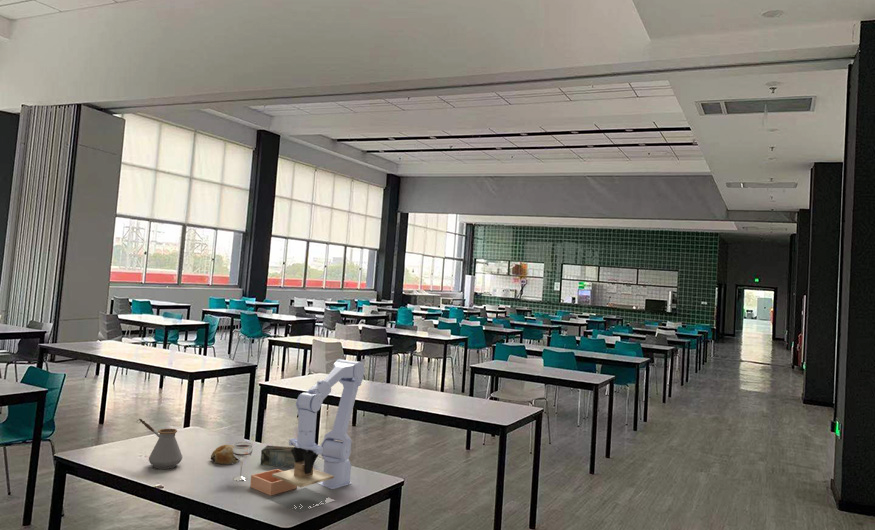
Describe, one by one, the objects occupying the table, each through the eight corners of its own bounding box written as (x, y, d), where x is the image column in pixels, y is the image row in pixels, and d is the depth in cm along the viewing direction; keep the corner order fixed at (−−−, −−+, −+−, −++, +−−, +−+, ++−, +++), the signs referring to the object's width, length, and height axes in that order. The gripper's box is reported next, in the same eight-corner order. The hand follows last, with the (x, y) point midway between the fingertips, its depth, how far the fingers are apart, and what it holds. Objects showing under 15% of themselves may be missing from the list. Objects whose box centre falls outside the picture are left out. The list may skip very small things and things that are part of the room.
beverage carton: (265, 459, 249) (266, 442, 249) (314, 463, 249) (315, 446, 249) (259, 465, 241) (260, 448, 242) (309, 469, 241) (311, 452, 241)
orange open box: (276, 481, 224) (277, 468, 224) (296, 489, 217) (297, 476, 217) (250, 488, 215) (251, 475, 215) (270, 497, 209) (271, 483, 209)
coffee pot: (188, 465, 236) (191, 424, 236) (163, 472, 225) (166, 430, 226) (148, 454, 245) (151, 415, 245) (122, 461, 235) (125, 420, 235)
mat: (305, 489, 218) (305, 487, 218) (337, 501, 209) (337, 500, 209) (267, 500, 206) (267, 498, 206) (299, 513, 196) (299, 512, 196)
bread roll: (228, 475, 239) (238, 456, 239) (204, 461, 239) (214, 443, 239) (236, 467, 248) (246, 449, 249) (214, 454, 249) (224, 436, 249)
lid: (305, 468, 217) (306, 454, 217) (333, 478, 209) (334, 463, 209) (272, 476, 206) (273, 461, 206) (300, 487, 198) (301, 471, 198)
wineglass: (254, 477, 227) (256, 443, 227) (243, 482, 220) (246, 448, 221) (237, 474, 229) (240, 441, 229) (226, 479, 222) (229, 445, 222)
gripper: (282, 427, 209) (279, 468, 209) (312, 436, 200) (309, 479, 200) (299, 424, 215) (296, 464, 214) (328, 433, 206) (325, 475, 206)
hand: (303, 471), depth 208 cm, fingers closed on lid, 3 cm apart
